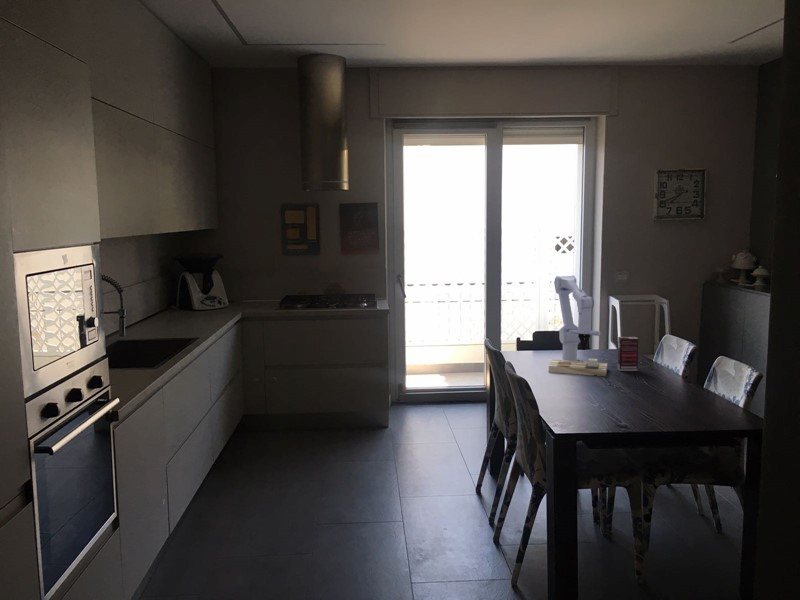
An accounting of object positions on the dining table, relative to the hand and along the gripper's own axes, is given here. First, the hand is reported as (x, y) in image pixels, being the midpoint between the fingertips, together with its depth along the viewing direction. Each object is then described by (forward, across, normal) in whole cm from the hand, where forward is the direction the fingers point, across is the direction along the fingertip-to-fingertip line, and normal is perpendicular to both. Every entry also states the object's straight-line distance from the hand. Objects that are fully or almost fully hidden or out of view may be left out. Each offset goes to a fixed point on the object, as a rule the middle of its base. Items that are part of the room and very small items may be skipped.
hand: (584, 349), depth 309 cm
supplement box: (+10, +20, +4) cm, 23 cm away
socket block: (+9, -2, -5) cm, 11 cm away
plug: (+10, +4, -5) cm, 12 cm away
